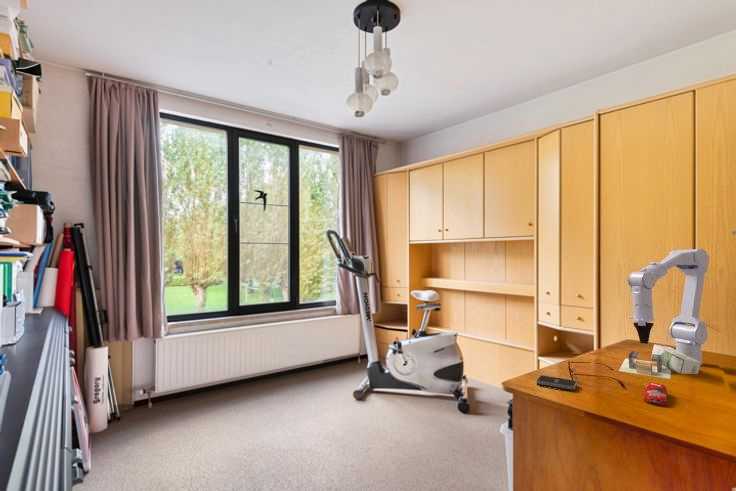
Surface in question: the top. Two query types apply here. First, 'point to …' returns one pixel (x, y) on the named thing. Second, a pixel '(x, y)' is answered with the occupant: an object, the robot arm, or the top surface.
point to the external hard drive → (557, 383)
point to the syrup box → (676, 360)
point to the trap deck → (664, 374)
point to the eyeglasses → (590, 375)
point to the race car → (655, 394)
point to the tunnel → (654, 358)
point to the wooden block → (644, 368)
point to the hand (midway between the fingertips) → (644, 343)
